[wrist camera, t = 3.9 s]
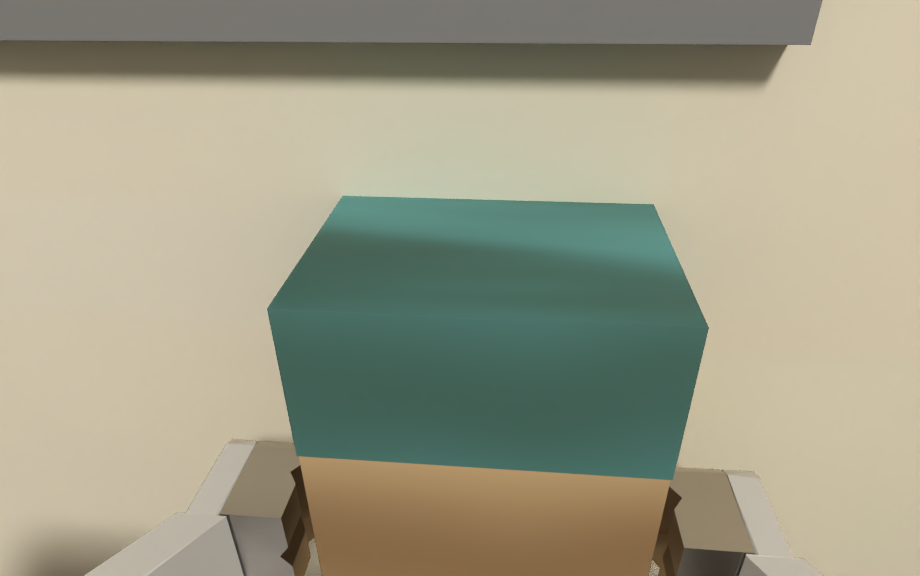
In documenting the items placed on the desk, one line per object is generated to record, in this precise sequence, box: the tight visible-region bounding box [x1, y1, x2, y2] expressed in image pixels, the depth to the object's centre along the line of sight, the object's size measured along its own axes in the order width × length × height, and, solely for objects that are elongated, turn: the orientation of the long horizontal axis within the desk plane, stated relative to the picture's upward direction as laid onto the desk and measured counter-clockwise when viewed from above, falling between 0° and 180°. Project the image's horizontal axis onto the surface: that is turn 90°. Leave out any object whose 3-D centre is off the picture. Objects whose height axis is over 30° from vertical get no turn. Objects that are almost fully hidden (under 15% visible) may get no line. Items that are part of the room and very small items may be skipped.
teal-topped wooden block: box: [267, 196, 709, 576], centre depth 11 cm, size 9×5×4 cm, turn 0°
